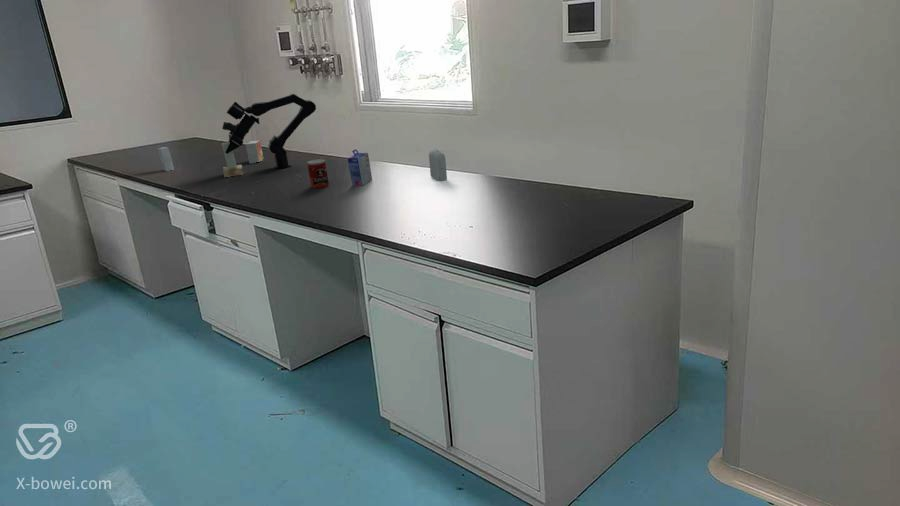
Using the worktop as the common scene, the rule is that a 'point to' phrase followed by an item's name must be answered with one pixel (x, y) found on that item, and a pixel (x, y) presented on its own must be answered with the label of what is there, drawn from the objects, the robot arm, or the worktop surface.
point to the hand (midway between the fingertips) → (226, 151)
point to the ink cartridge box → (359, 168)
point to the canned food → (318, 173)
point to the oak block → (233, 171)
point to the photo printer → (437, 165)
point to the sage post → (229, 156)
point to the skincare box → (165, 158)
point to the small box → (254, 151)
